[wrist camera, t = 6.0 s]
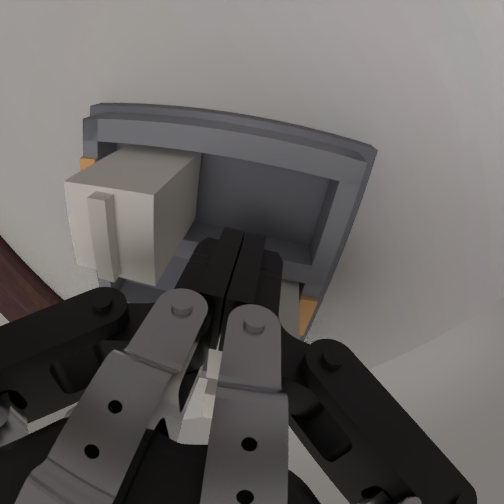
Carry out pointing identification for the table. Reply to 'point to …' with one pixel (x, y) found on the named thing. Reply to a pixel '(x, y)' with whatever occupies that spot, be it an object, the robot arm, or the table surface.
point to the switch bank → (248, 188)
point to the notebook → (21, 287)
